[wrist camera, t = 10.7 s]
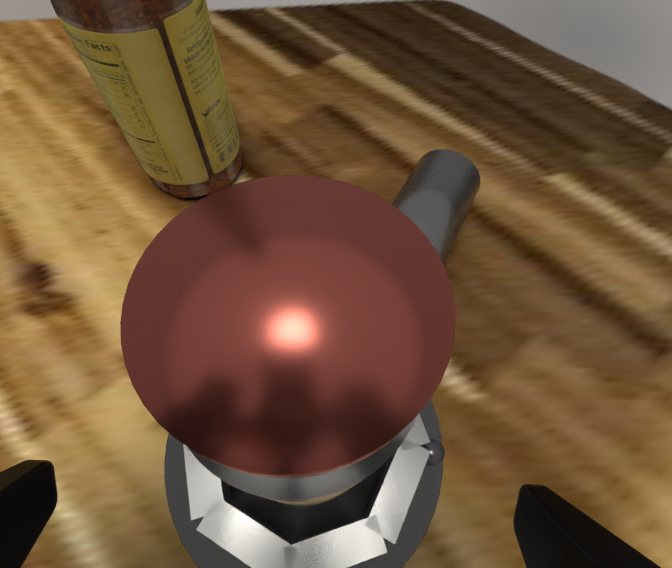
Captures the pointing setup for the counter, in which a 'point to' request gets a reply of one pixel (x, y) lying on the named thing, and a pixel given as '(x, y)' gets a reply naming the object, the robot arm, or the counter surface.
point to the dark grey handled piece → (366, 496)
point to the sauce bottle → (161, 87)
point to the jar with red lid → (289, 333)
